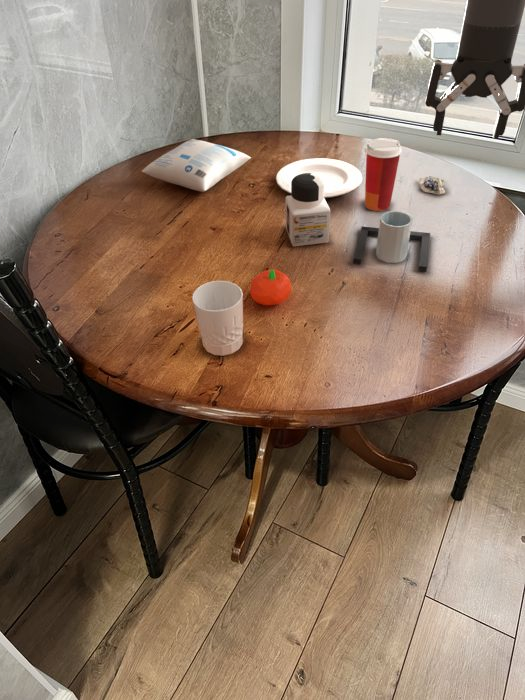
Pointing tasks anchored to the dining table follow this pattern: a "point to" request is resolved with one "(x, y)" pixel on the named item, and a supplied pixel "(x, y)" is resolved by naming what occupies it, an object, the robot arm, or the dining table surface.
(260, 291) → the pumpkin
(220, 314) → the white cup
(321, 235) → the container
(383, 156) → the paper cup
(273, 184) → the dining table surface
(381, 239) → the pale grey cup
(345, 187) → the plate
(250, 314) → the dining table surface
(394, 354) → the dining table surface
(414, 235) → the frame
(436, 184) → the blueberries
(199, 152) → the pouch
